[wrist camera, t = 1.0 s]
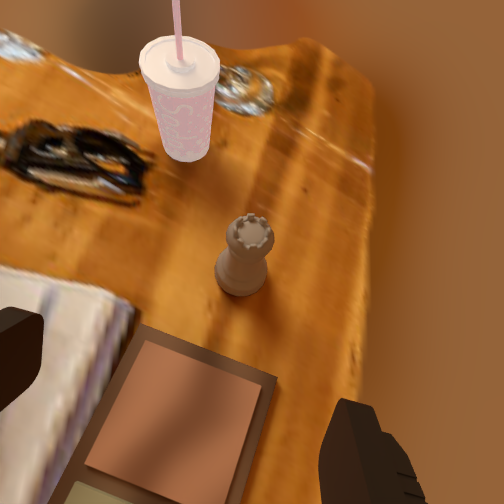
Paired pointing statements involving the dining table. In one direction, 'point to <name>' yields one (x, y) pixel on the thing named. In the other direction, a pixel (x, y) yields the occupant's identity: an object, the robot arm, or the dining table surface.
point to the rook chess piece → (245, 256)
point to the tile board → (170, 428)
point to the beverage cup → (181, 90)
